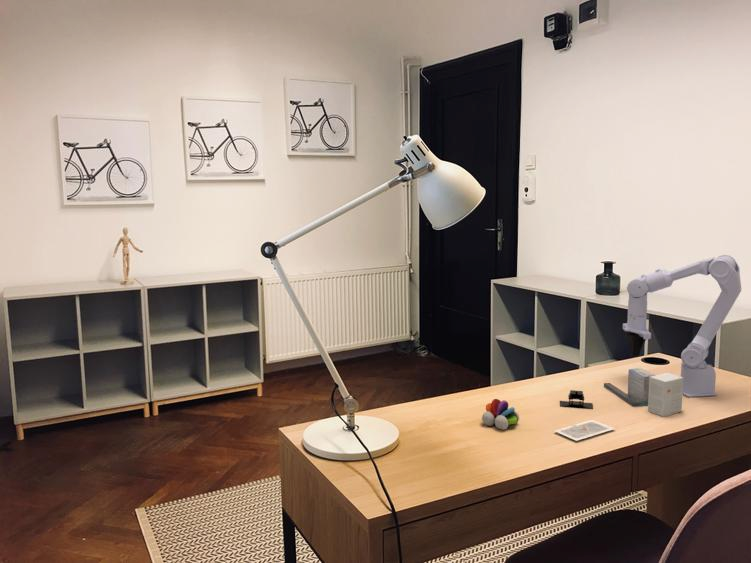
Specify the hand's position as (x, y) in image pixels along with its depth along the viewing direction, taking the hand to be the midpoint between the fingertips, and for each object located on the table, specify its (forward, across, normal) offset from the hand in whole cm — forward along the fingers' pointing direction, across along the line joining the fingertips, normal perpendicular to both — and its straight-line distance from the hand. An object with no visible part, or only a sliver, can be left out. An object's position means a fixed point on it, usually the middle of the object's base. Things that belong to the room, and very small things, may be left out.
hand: (635, 355), depth 212 cm
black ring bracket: (+10, +17, -27) cm, 34 cm away
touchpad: (+10, +37, -34) cm, 51 cm away
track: (+9, +12, -6) cm, 16 cm away
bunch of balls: (+10, +28, -54) cm, 62 cm away
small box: (+10, +26, -4) cm, 28 cm away
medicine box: (+10, +15, -6) cm, 18 cm away
